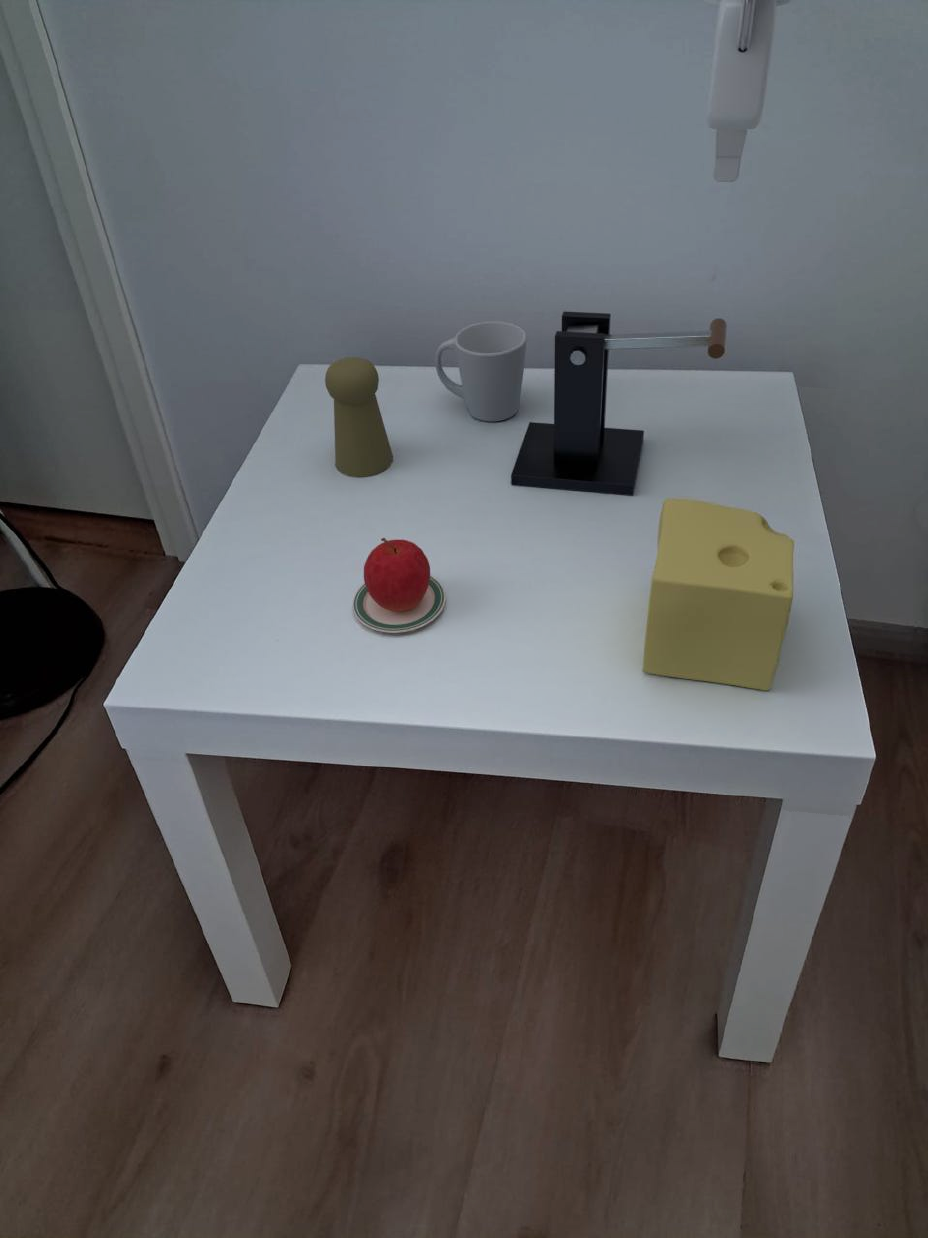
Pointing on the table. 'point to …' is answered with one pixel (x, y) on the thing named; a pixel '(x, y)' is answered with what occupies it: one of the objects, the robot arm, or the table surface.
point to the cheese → (718, 595)
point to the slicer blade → (665, 338)
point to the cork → (357, 418)
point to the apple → (398, 589)
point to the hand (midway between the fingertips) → (727, 158)
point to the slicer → (580, 422)
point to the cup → (487, 368)
